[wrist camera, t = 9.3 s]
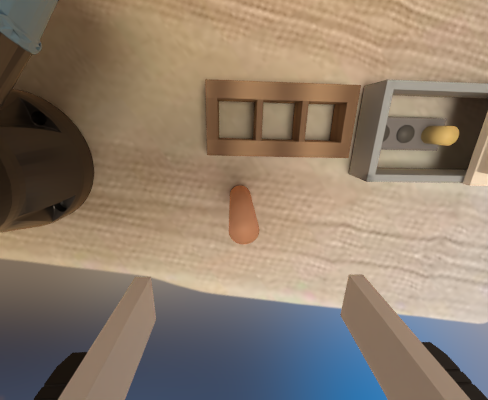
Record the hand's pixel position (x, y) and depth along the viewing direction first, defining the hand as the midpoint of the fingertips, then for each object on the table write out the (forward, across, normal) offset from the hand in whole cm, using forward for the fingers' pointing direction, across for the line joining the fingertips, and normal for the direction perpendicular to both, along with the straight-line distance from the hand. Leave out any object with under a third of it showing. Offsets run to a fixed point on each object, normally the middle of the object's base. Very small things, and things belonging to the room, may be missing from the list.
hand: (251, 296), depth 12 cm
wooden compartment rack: (+18, +4, +9) cm, 20 cm away
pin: (+18, 0, 0) cm, 18 cm away
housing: (+18, +25, +8) cm, 32 cm away
